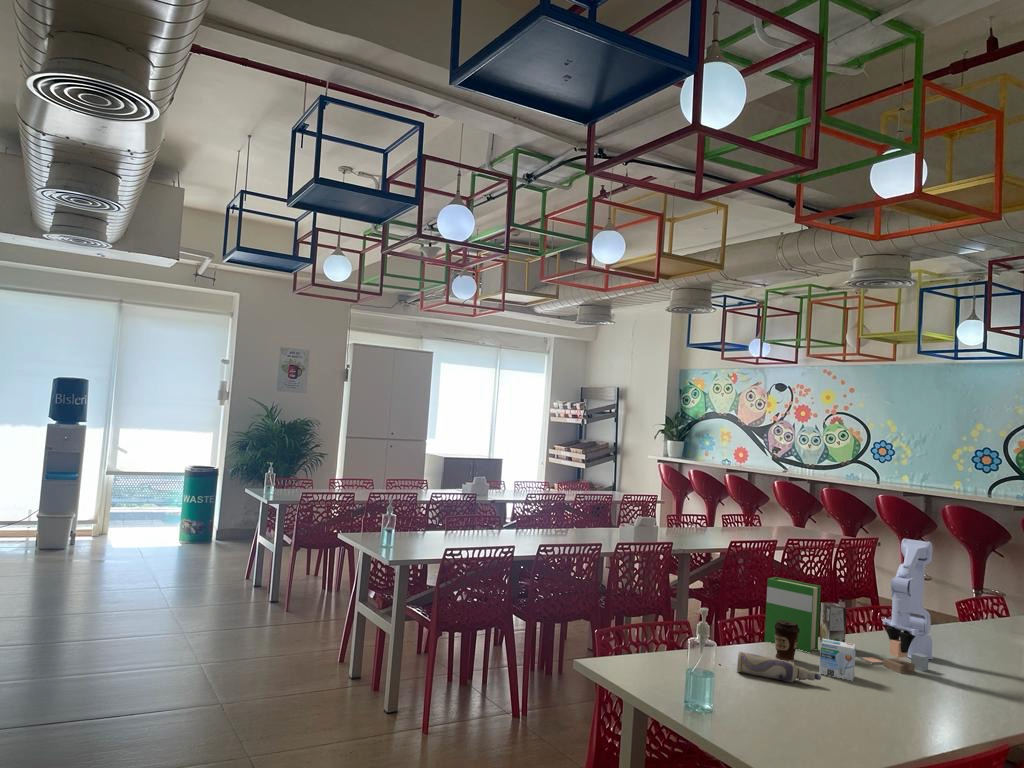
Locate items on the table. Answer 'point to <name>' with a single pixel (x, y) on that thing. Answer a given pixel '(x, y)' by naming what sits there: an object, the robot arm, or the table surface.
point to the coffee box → (832, 622)
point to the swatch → (872, 660)
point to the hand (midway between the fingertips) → (899, 650)
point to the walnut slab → (899, 665)
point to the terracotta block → (896, 649)
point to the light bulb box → (837, 659)
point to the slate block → (920, 661)
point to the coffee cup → (786, 639)
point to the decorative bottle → (773, 668)
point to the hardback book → (793, 610)
